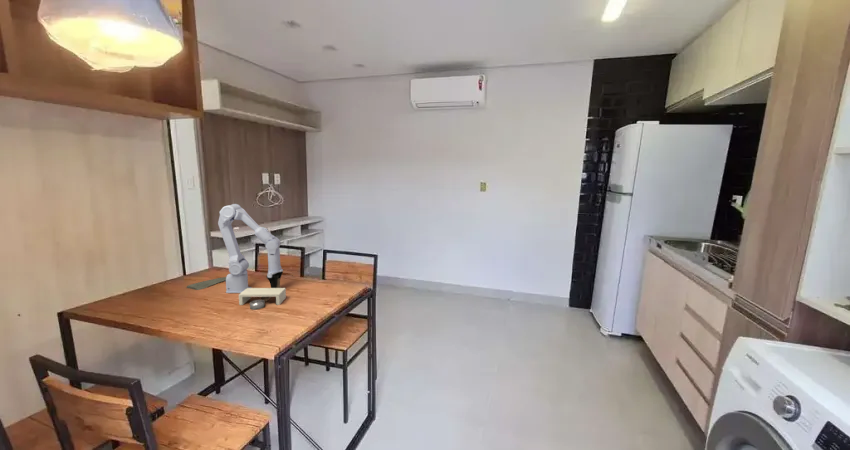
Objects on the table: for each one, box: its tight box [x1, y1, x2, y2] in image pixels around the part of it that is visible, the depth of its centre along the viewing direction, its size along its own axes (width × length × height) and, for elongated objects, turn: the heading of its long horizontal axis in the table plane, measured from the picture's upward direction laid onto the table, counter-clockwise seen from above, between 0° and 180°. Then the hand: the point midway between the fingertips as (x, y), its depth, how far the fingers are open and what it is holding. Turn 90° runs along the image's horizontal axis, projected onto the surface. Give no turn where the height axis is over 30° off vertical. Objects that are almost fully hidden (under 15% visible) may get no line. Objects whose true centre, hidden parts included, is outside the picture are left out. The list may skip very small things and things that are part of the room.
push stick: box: [260, 278, 281, 302], centre depth 172 cm, size 4×17×6 cm, turn 4°
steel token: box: [249, 299, 266, 311], centre depth 157 cm, size 6×6×2 cm
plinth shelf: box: [238, 287, 287, 306], centre depth 163 cm, size 18×9×5 cm, turn 94°
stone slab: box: [186, 276, 227, 291], centre depth 188 cm, size 22×3×10 cm
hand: (275, 287), depth 179 cm, fingers open, 4 cm apart
